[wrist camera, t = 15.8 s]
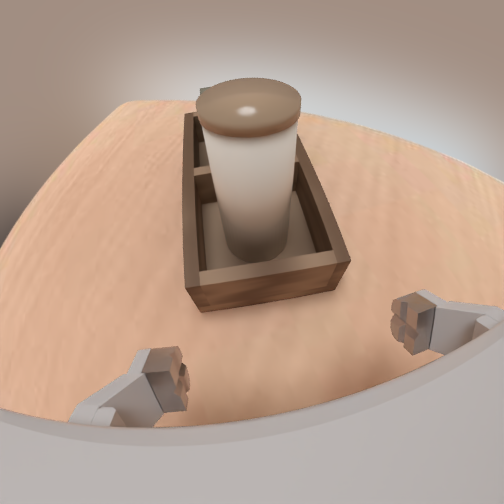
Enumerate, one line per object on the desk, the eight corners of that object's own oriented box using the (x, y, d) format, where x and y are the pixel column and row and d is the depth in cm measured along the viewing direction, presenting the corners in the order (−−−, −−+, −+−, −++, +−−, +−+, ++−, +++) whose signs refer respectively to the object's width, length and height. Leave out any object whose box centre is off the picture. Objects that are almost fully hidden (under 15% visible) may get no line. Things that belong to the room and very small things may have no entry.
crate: (200, 312, 22) (185, 287, 17) (192, 146, 32) (184, 113, 28) (334, 289, 22) (351, 260, 18) (279, 134, 33) (280, 101, 28)
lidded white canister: (228, 268, 22) (196, 131, 11) (221, 216, 25) (195, 85, 14) (295, 257, 22) (315, 118, 11) (280, 207, 25) (285, 74, 14)
